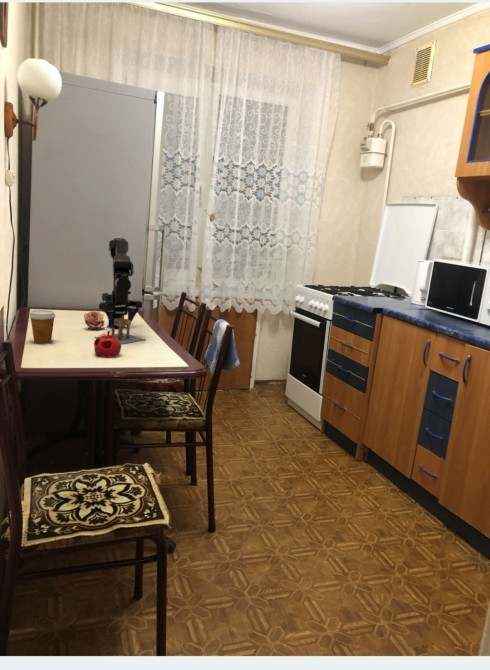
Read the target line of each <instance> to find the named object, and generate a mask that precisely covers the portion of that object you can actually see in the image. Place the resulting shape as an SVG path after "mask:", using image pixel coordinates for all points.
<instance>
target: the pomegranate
mask: <svg viewBox="0 0 490 670" xmlns="http://www.w3.org/2000/svg"><path fill="white" fill-rule="evenodd" d="M110 333H111V331H110V330H107V334H105V333H101V334H99V335H98V336H97V337H98V338H97V339H96V338H95V340H94V342H93V346H94V353H95V354H96V355H98V356H99V357H100V356H101V357H105V358H106V357H107V358H108V357H116V356H118V355H119V354H120V353H121V350H122V344H121V343H120V342H119V341H118V339H116V338H114V335H111V334H110ZM106 335H107V336H106ZM109 335H111V336H109ZM99 336H100V337H99Z"/></svg>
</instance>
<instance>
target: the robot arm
mask: <svg viewBox="0 0 490 670" xmlns="http://www.w3.org/2000/svg"><path fill="white" fill-rule="evenodd" d="M108 252H109V253H110V254H109V255H110V257H111V259H112V276H113V277H112V291H111V294H109V293H108V292H104V293H102V294H101V299H102V302H99V304H98V309H99V310H101V311H102V312H103V313H105V314H106V317H107V319H108V323H107V324H108V325H106V327H108V328H111V329H112V327H113V325H114V320H115V319H117V318H124V319H125V316H127V319H128V320H131V323H132V322H133V321H134V318H135V316H136V315H137V313H138V312H139V311H140V310H141V309H142V308H143V302H142V301H141V300H138V299H129V295H131V293H132V292H131V290H130V289H131V288H132V282H131V281H130V277H133V275H134V272H135V271H134V270H135V269H134V264H133V261H131V258H130V256H129V255H127V253H128V252H129V241H127V240H126V238H124V237H123V238H121V237H115V238H113V239H112V240H110V241H109V242H108ZM124 328H127V326H123V329H124ZM116 329H117V330H118V329H119V326H116V325H115V330H116Z"/></svg>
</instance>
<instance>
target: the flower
mask: <svg viewBox="0 0 490 670" xmlns="http://www.w3.org/2000/svg"><path fill="white" fill-rule="evenodd" d="M83 317H84V318H83V319H84V322H81V323H82V324H84V325H86V326H87V327H88V330H91V329H96V330H99V329H100V328H103V327H104V326H105V320H104V314H102V312H100V311H96V310H91V311H89V312H86V313H84V314H83Z"/></svg>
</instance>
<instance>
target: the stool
mask: <svg viewBox="0 0 490 670" xmlns="http://www.w3.org/2000/svg"><path fill="white" fill-rule="evenodd" d="M115 325H116V326H119V328H118V329H117V331H118V333H117V334H118V340H121V337H123V333H124V331H123V330H124V328H123V326H126V334H127V337H126V339H129V335H130V331H131V329H130V327H131V325H132V322H131V320H128V318H125V317H124V318H117V319H115V320H114V325H113V327H112V328H111V334H110V335H114V334H115V330H116V329H115Z"/></svg>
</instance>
